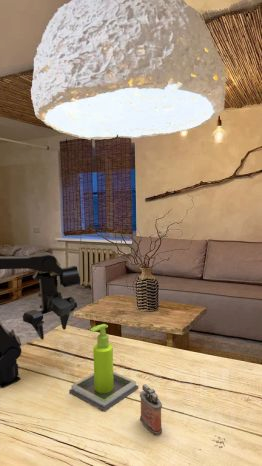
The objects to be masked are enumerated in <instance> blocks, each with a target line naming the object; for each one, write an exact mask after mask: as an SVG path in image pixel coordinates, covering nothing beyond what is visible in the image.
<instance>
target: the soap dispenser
mask: <svg viewBox="0 0 262 466" xmlns="http://www.w3.org/2000/svg"><path fill="white" fill-rule="evenodd" d="M108 327H109V325H107V323H102V324H98V325H95V326H93V327H92V328H90V329H89V330H90V331H91V332H94V333H96V332H98V331H99V334H98V335H97V337H96V339H97V340H96V341H97V342H96V343H97V344H96V345H93V349H92V350H93V373H94V388H95V391H97V392H99V393H108V392H110V391H112V390H113V388H114V382H113V372H114V348H113V347H114V346H113V344H110V342H109V335H108V334H107V333H106V328H108Z"/></svg>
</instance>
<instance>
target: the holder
mask: <svg viewBox="0 0 262 466" xmlns="http://www.w3.org/2000/svg"><path fill="white" fill-rule="evenodd" d="M113 382H114V388H113V390H112V391H110V392H108V393H99V392H97V391H95V388H94V372H93V373H91V374H89V375H88V376H86V377H84V378H83V379H80V380H79V381H76V382H75V383H73V384H72V385H71V389H69V394H71V395H73V396H75V397H77V398H79V399H80V400H82V401H84V402H86V403H88V404H89V405H91V406H93V407H94V408H97V409H99V410H100V411H101V412H104V413H105V412H107V411H108V410H109V409H110V408H112V407H114V406H115V405H117V404H118V403H120V402H121V401H122V400H123V399H125V398H127V397H128V396H130V395H131V394H133V392H136V391H137V390H138V389H139V385H137V381H135V380H133V379H131V378H128V377H126V376H124V375H121V374H119V373H117V372H115V371H113Z"/></svg>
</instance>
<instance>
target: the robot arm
mask: <svg viewBox="0 0 262 466" xmlns="http://www.w3.org/2000/svg"><path fill="white" fill-rule="evenodd" d="M57 263H58V261H57V258H56V257H55V256H54V255H53V254H51V253H50V252H47V251H44V252H43V251H42V252H37V253H33V254H30V255H23V256H22V255H21V256H20V255H17V256H16V255H14V256H13V255H11V256H10V255H9V256H8V255H7V256H0V270H21V269H23V270H26V269H27V270H28V269H29V270H33V271H36V272H35V273H34V274H33V275H32V278H33V279H34V280H35V281H36V280H39V289H40V293H38V297H40V299H41V304H40V305H39V309H41V310H36V309H31V310H29V311H26V312H23V314H22V321H23V322H25V323H27V324H30V325H32V327H33V329H34V330H35V332H36V334H37V335H38V337H39V338H40V340H44V338H45V335H44V323H45V321H44V316H47V315H49V314H52V313H54V314H56V316H57V317H59V320H60V324H61V328H62V330H63V331H64V330H66V329H67V326H68V322H69V318H70V315H71V314H72V313H73V312H74V311H75V310H76V308H78V301H77V300H76V299H74V297H73V296H68V297H64V298H63V296H62V293H61V292H60V291H59V287H58V285H59V286H61V287H62V288H63V289H65V288H70V287H75V286H76V287H77V286H80V285H81V276H80V273H79V270H78V266H77V265H72V266H68V267H67V266H66V267H61V266H60V265H59V264H57ZM50 272H52V273H50ZM2 323H3V322H1V321H0V387H1V388H6V387H7V386H10V385H12V384H14V383H16V382H18V381H19V380H21V377H20V376H19V375H20V374H19V363H18V362H17V359H19V358H20V356H21V354H22V348H21V347H22V341H21V339H20V337H19V336H18V335H17V334H16V333H15V330H14V329H11V330H10V331H9V330H8V329H6V327H5V326H4V325H3V324H2Z"/></svg>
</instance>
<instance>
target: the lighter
mask: <svg viewBox="0 0 262 466" xmlns="http://www.w3.org/2000/svg"><path fill="white" fill-rule="evenodd" d="M141 387H142V391H140V392H139V397H140V416H139V420H140V422H141V424H142V426H143V427H144V428H145V429H146V430H147V431H148V432H149V433H150V434H151V435H153V436H160V435H162V433H163V428H162V408H163V403H162V402H161V400H160V399H159V395H158V393H156V390H155V389H154V388H151V387H150V386H148V385H147V384H146V383H145V384H142V385H141Z"/></svg>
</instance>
